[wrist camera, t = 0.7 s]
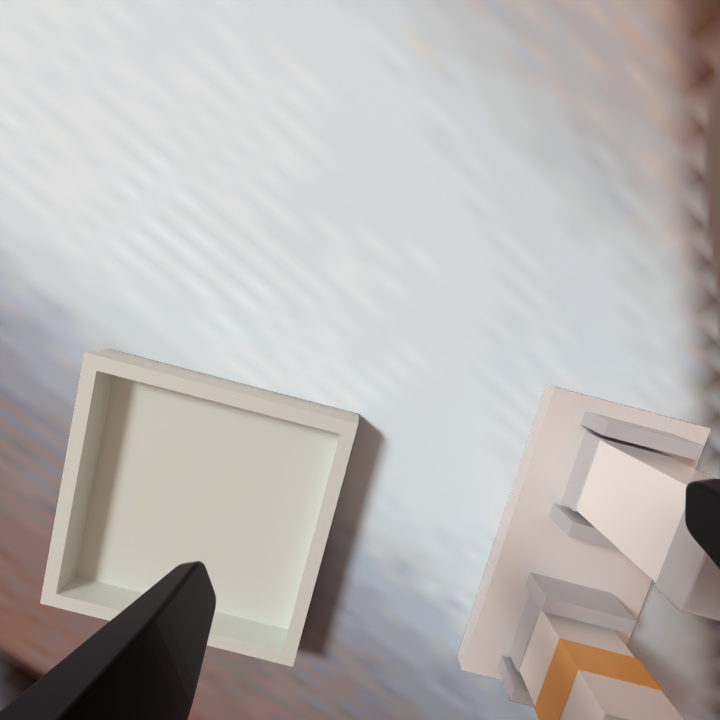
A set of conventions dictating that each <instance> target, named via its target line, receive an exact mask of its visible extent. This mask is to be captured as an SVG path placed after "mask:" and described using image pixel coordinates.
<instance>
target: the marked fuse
mask: <svg viewBox="0 0 720 720" xmlns="http://www.w3.org/2000/svg"><path fill="white" fill-rule="evenodd" d="M509 654H510V656H511V658H512V661H513V663H514V665H515V668H516V670H517V672H520V673H521V675H522V677H523V680H524V682H525V684H526V687H527V689H528V691H529V694H530V696H531V698H532V700H533V703H534V705H535V707H534V708H535V711H536V713H537V715H538V718H539V720H684V719H683V717H682V716H681V715H680V713H679V712H678V711H677V710H676V708H675V707H674V706H673V705H672V703H671V702H670V701H669V700H668V698H667V697H666V696H665V695H664V693H663V692H662V691H663V690H662V688H661V687H660V686H659V685H658V683H657V682H656V681H655V680H654V678H653V677H652V676H651V675H650V673H649V672H648V671H647V670H646V668H645V667H644V666H643V665H642V663H641V662H640V661H639V660H638V658H635V657H634V655H633V654H632V653H631V652H630V650H629V649H628V648H627V647H626V645H625V644H624V643H623V642H622V640H621V639H620V638H619V637H618V635H617V634H616V633H615V631H614V630H613V629H610V628H606V627H602V626H598V625H594V624H590V623H586V622H582V621H578V620H574V619H571V618H567V617H563V616H559V615H555V614H551V613H547V612H543V611H541V609H540V608H539V606H538V604H537V603H536V601H535V599H534V597H533V596H532V594H531V592H530V593H529V596H528V599H527V602H526V605H525V608H524V611H523V614H522V616H521V619H520V622H519V625H518V628H517V631H516V634H515V637H514V640H513V642H512V645H511V648H510V651H509Z"/></svg>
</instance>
